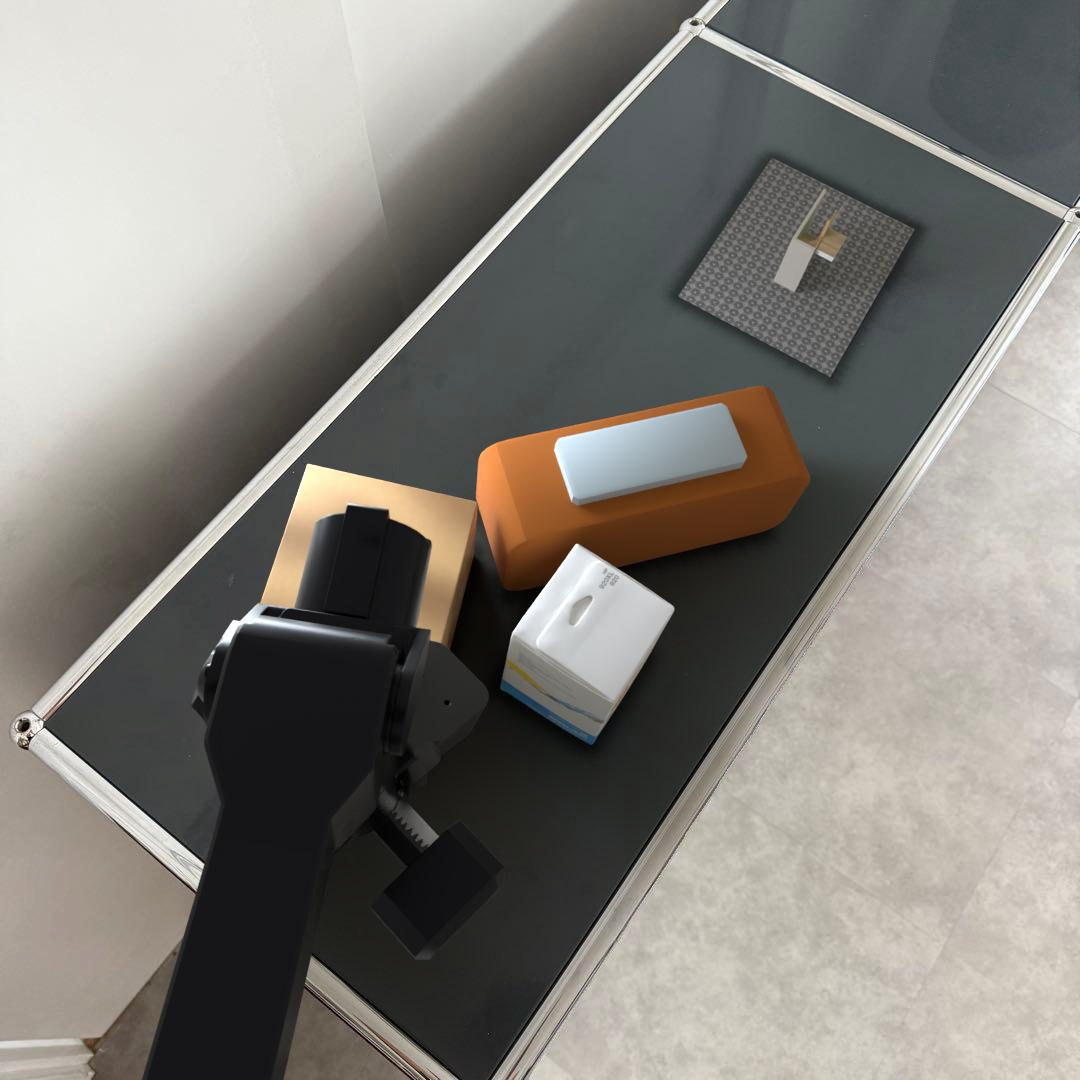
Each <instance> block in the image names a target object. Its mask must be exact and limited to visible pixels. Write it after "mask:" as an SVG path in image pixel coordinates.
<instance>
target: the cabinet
mask: <svg viewBox="0 0 1080 1080" xmlns="http://www.w3.org/2000/svg"><path fill="white" fill-rule="evenodd" d="M348 503H352V504H358V505H364V506H371V507H377V508H384V509H389V515H390V519H392V520H395V521H398V522H400V523H403V524H405V525H408V526H409V527H411V528H413V529H415V530H417V531H418V532H419V533H421V534H422V535H423V536H424V537H425V538H427V539H429V540H431V542H432V549H431V554H430V559H429V565H428V570H427V575H426V580H425V585H424V591H423V596H422V601H421V606H420V611H419V617H418V622H417V628H424V629H430V630H431V635H430V640H431V641H435V642H439V643H441V644H443V645H444V646H446V647H447V648H448V649H449V650H450V651H451V647H452V643H453V639H454V635H455V632H456V629H457V628H456V627H457V623H458V619H459V615H460V611H461V608H462V604H463V601H464V600H463V599H464V596H465V593H466V589H467V584H468V581H469V576H470V572H471V568H472V565H473V561H474V557H475V546H476V536H477V535H476V534H477V533H476V532H477V520H478V510H479V507H478V502H477V500H476V501H475V500H471V499H465V498H462V497H457V496H453V495H449V494H444V493H440V492H436V491H431V490H427V489H422V488H418V487H414V486H408V485H403V484H399V483H395V482H390V481H386V480H382V479H377V478H373V477H369V476H364V475H358V474H355V473H350V472H345V471H341V470H338V469H333V468H328V467H323V466H319V465H315V464H310V463H307V464H306V467H305V470H304V473H303V476H302V479H301V482H300V485H299V488H298V490H297V494H296V496H295V500H294V503H293V505H292V508H291V512H290V514H289V517H288V520H287V523H286V526H285V528H284V532H283V535H282V538H281V541H280V543H279V547H278V549H277V553H276V554H275V555H276V556H275V559H274V561H273V564H272V566H271V567H272V568H271V570H270V574H269V576H268V579H267V582H266V585H265V588H264V591H263V594H262V597H261V599H260V603H262V604H268V605H275V606H281V607H288V608H294V607H295V603H296V599H297V595H298V591H299V587H300V583H301V579H302V575H303V570H304V566H305V562H306V558H307V554H308V550H309V546H310V542H311V538H312V534H313V530H314V526H315V523H316V522H317V521H318V520H319V519H321V518H323V517H324V516H328V515H331V514H336V513H345V511H346V507H347V504H348Z"/></svg>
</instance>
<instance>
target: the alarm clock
mask: <svg viewBox="0 0 1080 1080" xmlns="http://www.w3.org/2000/svg"><path fill="white" fill-rule="evenodd" d="M476 474H477V476H476V487H475V488H476V490H475V499H476V502H478V510H479V514H480V517H481V519H482V524H483V526H484V530H485V533H486V536H487V540H488V543H489V547H490V551H491V553H492V556H493V560H494V563H495V567H496V570H497V573H498V576H499V580H500V583H501V586H502V587H503V588H504V590H507V591H510V592H518V591H519V592H520V591H526V590H530V589H534V588H539V587H543V586H546V585H547V584H548V583H549V581H550V580H551V578H552V577H553V576H554V574H555V573H556V572H557V570H558V569H559V567H560V566H561V565H562V563H563V562H564V560H565V559H566V558H567V556H568V555H569V553H570V552H571V551H572V549H573V548H574V546H575V545H576V544H579V545H580V546H582V547H583V548H585V549H587V550H588V551H590V552H592V553H593V554H595V555H596V556H598V557H600V558H601V559H603V560H604V561H606V562H608V563H609V564H611V565H612V566H614V567H615V568H617V569H618V568H621V567H625V566H630V565H632V564H638V563H642V562H645V561H650V560H655V559H657V558H662V557H666V556H670V555H674V554H679V553H683V552H687V551H691V550H696V549H699V548H703V547H708V546H711V545H715V544H719V543H723V542H728V541H731V540H736V539H741V538H745V537H749V536H752V535H756V534H760V533H763V532H766V531H769V530H771V529H773V528H775V527H776V526H778V525H780V524H781V523H782V522H783V521H784V520H786V518H787V517H788V516H789V514H790V513H791V511H792V510H793V509H794V506H795V505H796V504H797V502H798V501H799V500H800V498H801V497H802V495H803V493H804V492H805V490H806V489H807V487H808V486H809V484H810V481H811V475H810V473H809V471H808V468H807V466H806V463H805V462H804V460H803V457H802V453H801V452H800V450H799V448H798V445H797V443H796V441H795V438H794V436H793V433H792V431H791V429H790V426H789V424H788V422H787V420H786V417H785V415H784V412H783V410H782V408H781V405H780V403H779V401H778V398H777V396H776V394H775V392H774V390H773V389H771V388H770V386H767V385H766V386H765V385H757V386H756V385H755V386H750V387H744V388H741V389H735V390H732V391H726V392H722V393H717V394H713V395H707V396H703V397H699V398H694V399H690V400H685V401H680V402H675V403H671V404H666V405H661V406H658V407H652V408H649V409H642V410H639V411H634V412H629V413H624V414H620V415H616V416H611V417H606V418H605V417H604V418H601V419H596V420H592V421H587V422H582V423H578V424H574V425H568V426H564V427H560V428H555V429H550V430H545V431H540V432H537V433H532V434H527V435H523V436H518V437H513V438H509V439H505V440H501V441H497V442H496V443H494V444H491V445H489V446H488V447H487V448H485V449H484V450H483V451H482V452H481V453H480V455H479V458H478V462H477V473H476Z"/></svg>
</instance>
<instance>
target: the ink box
mask: <svg viewBox="0 0 1080 1080" xmlns="http://www.w3.org/2000/svg"><path fill="white" fill-rule="evenodd" d="M674 613H675V606H674V605H672V604H671V603H670V602H668V601H667V600H665V599H664V598H662V597H661V596H659V595H658V594H657V593H655V592H654V591H652V590H651V589H650V588H648V587H646V586H645V585H643V584H642V583H640V582H639V581H638V580H636V579H634V578H633V577H631V576H630V575H628V574H627V573H625V572H624V571H621V570H620V569H618V567H617V568H615V567H614V566H612V565H611V564H609V563H608V562H606V561H604V560H603V559H601V558H600V557H598V556H596V555H595V554H593V553H592V552H590V551H588V550H587V549H585V548H583V547H582V546H580V545H579V544H576V545H575V546H574V548H573V549H572V551H571V552H570V553H569V555H568V556H567V558H566V559H565V560H564V562H563V563H562V565H561V566H560V567H559V569H558V570H557V572H556V573H555V574H554V576H553V577H552V578H551V580H550V581H549V583H548V584H547V585H545V587H544V588H543V589H542V590H541V592H540V593H539V594H538V596H537V597H536V598H535V600H534V602H532V604H531V605H530V607H529V608H528V609H527V611H526V612H525V614H523V616H522V617H521V619H520V621H519V622H518V624H517V625H516V627H515V628H514V630H513V631H512V632H511V636H510V640H509V646H508V649H507V653H506V659H505V664H504V668H503V671H502V677H501V681H500V690H501V691H503V692H506V693H507V694H509V695H510V696H512V697H513V698H514V699H516V700H517V701H520V702H521V703H522V704H524V705H525V706H526V707H528V708H530V709H531V710H533V711H534V712H536V713H538V714H539V715H540V716H542V717H543V718H545V719H547V720H548V721H550V722H551V723H553V724H554V725H556V726H558V727H559V728H561V729H562V730H564V731H565V732H568V733H569V734H571V735H572V736H574V737H576V738H578V739H579V740H582V741H583V742H584V743H586V744H588V745H590V746H591V745H593V744H594V743H595V742H596V740H597V739H598V737H599V735H600V734H601V732H602V731H603V729H604V728H605V726H606V725H607V723H608V721H609V720H610V718H611V717H612V716H613V714H614V712H615V711H616V710H617V708H618V706H619V705H620V703H621V702H622V700H623V698H624V697H625V695H626V693H627V692H628V691H629V689H630V688H631V686H632V684H633V683H634V681H635V679H636V678H637V676H638V675H639V673H640V671H641V670H642V668H643V666H644V665H645V663H646V662H647V660H648V658H649V656H650V655H651V653H652V652H653V649H654V647H655V645H656V644H657V642H658V640H659V638H660V637H661V635H662V634H663V632H664V629H665V628H666V626H667V624H668V622H669V621H670V619H671V617H672V616H673V614H674Z"/></svg>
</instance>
